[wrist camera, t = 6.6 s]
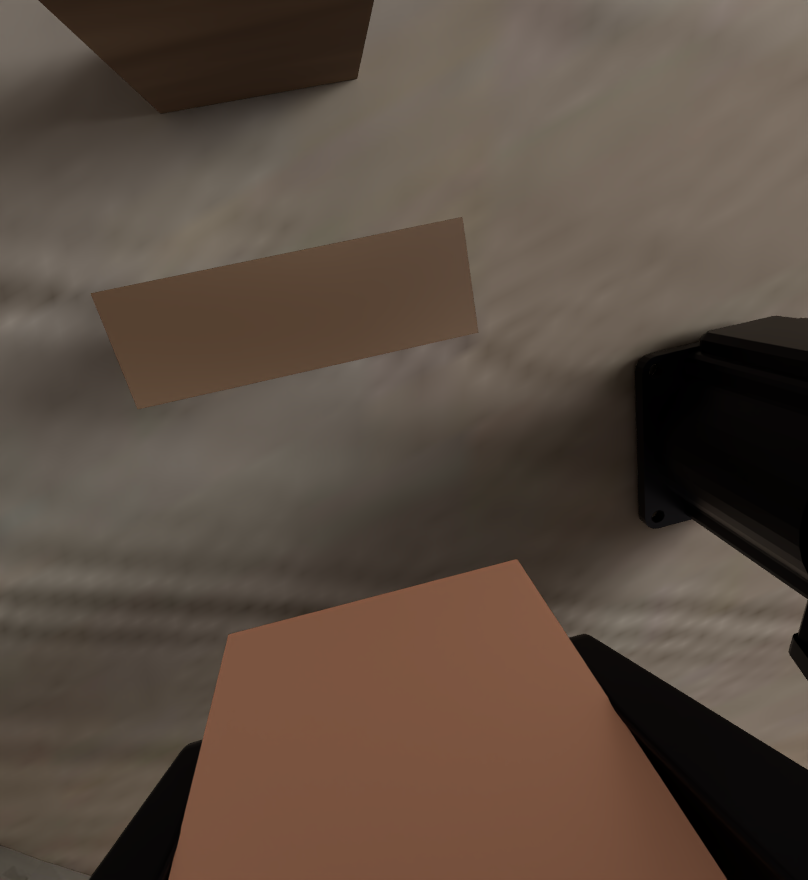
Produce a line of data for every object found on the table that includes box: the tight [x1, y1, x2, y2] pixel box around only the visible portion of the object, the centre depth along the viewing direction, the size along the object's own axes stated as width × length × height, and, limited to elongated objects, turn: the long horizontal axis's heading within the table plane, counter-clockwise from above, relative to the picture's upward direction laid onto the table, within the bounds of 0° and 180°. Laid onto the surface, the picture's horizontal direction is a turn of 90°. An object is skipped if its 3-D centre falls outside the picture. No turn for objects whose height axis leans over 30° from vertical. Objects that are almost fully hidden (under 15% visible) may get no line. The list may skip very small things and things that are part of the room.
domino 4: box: [91, 217, 478, 409], centre depth 11 cm, size 2×5×8 cm, turn 101°
